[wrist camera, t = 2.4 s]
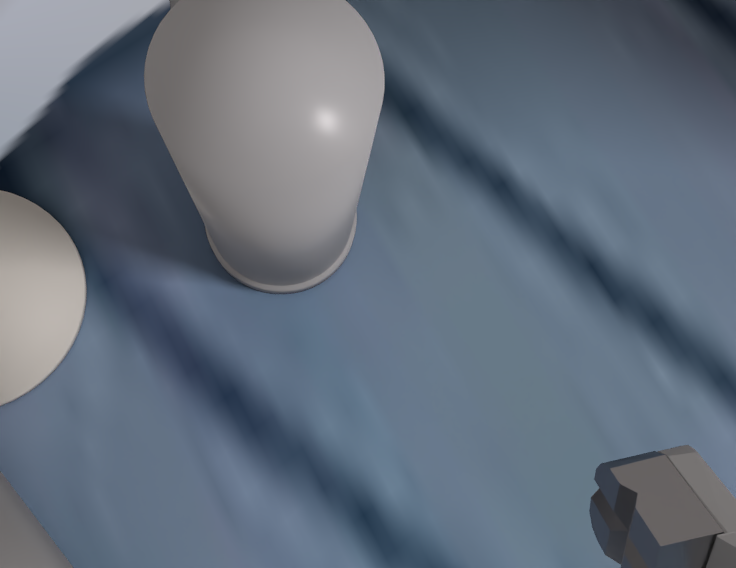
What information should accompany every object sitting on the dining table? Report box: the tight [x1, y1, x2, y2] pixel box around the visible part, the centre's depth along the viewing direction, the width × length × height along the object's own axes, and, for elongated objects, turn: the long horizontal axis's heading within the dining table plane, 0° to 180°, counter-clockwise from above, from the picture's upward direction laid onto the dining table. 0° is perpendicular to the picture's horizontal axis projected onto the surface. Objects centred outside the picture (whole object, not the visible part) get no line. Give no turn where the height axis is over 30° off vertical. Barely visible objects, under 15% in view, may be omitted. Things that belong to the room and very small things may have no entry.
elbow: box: [144, 0, 384, 294], centre depth 21 cm, size 8×6×11 cm
